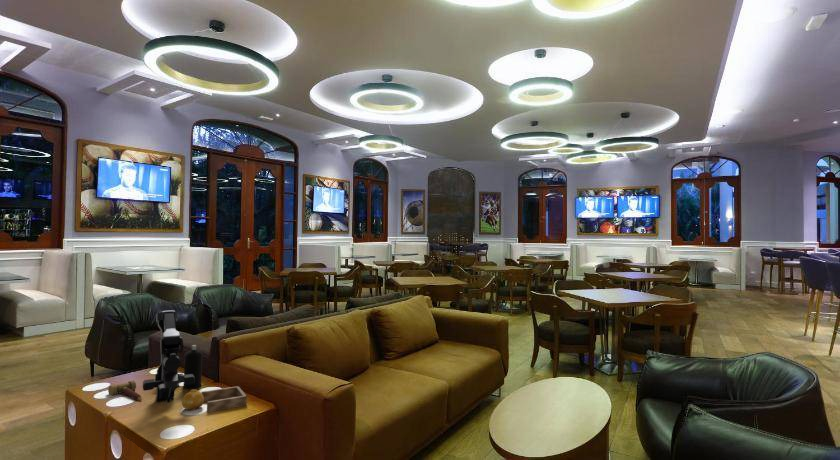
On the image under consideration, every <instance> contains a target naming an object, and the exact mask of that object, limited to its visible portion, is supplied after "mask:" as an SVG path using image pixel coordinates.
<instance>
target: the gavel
mask: <svg viewBox="0 0 840 460" xmlns="http://www.w3.org/2000/svg"><path fill="white" fill-rule="evenodd" d="M136 388H137V383H136V381H135V380H129V381H127V382H123V383H119V384H112V385H109V386H108V388H107V391H108V396H109V395H110V396H115V395H117V394H121V393H122V394H123V393H124V394H125V395H127V396H128V397H130V398H131V399H133V400H134V401H142V399H143V398H142V395H141V394H139V393H138V392H136V391H135V390H136Z"/></svg>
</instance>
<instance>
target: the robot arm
mask: <svg viewBox="0 0 840 460" xmlns="http://www.w3.org/2000/svg"><path fill="white" fill-rule="evenodd" d="M178 316H179V312H178V311H177V310H176V311H175V310H173V309H171V310H163V311H159V312H157V313H156V318H155V320H156V323H157V327H158V328H159V330H160V332H161V335H160V336H161V337H160V346H159V347H160V364H159V366H158V368H157V369H156V373H155V374H154V378H152V379H144V380H143V382H142V390H143V391H151V390H153V389H155V388H156V396H155V400H156V402H157V403H158V402H159V403H161V402H167V404H170V403H171V400H174V397H175V392H176V390H177V389H180V384H182V383H184V382H185V384H187V385H188V384H194V383H195V377H194V375H193V374H188V375H184V372H183V373H178V370H179V369H180V367H181V363H182V362H181V359H180V357H179V353H183V351H184V339H183V337H182V336H181V333H180V331H178V330H177V329H176V328H177V327H176V322H177V321H178V320H179V317H178Z"/></svg>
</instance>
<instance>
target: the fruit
mask: <svg viewBox="0 0 840 460" xmlns="http://www.w3.org/2000/svg"><path fill="white" fill-rule="evenodd" d="M189 390H190V391H189V392H187V393H186V394H185V395H184V396H183V398H182V401H181V405H182V407H183V408H184V409H185V410H188V411H194V410H198V409H199V408H201V407H202V405H203V404H204V402H205V401H204V397H203V394H202V393H201V392H202V391H200V390H198V389H189Z"/></svg>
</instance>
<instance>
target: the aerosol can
mask: <svg viewBox="0 0 840 460" xmlns="http://www.w3.org/2000/svg"><path fill="white" fill-rule="evenodd" d="M203 355H204V353H203V352H202V351H201V350H199V349H197V344H193V345H191V349H190V350H188V351H187V352H185V353H184V355H183V356H184V363H183V364H184V366H183V367H184V369H183V370H184V371H183V375H188V374H193V375H194V377H195V383H194V384H188V385H187V384H185V382H183V385H182V388H183V389H184V390H192V389H195V390H197V389H200V388H201V387H202V386H203V385H202V376H203V375H202V373H203Z"/></svg>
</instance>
